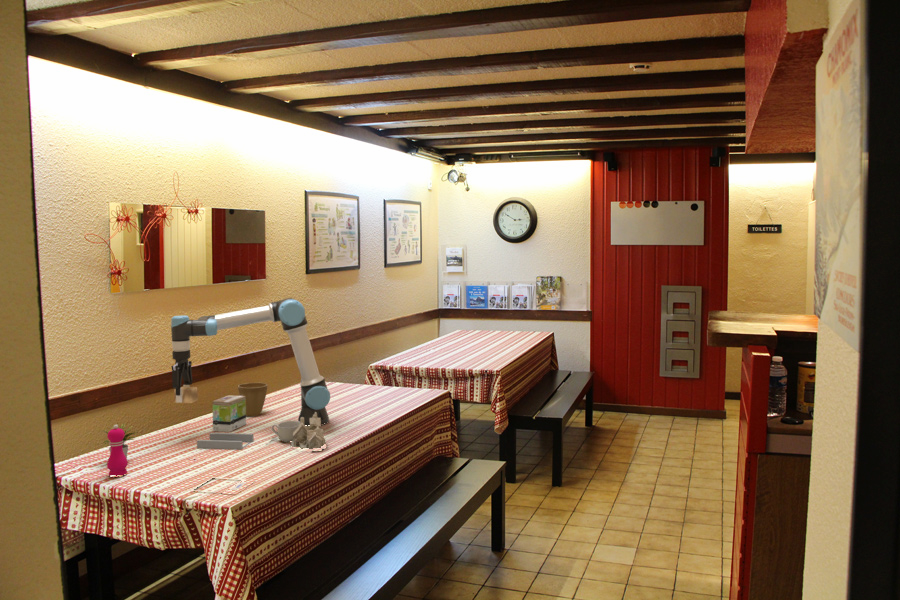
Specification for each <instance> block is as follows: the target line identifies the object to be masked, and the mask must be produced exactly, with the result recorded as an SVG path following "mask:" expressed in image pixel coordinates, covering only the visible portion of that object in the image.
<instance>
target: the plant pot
mask: <svg viewBox="0 0 900 600" xmlns="http://www.w3.org/2000/svg"><path fill="white" fill-rule="evenodd" d="M237 387H238V394H239V395H238V396H246V417H257V416H260V415H261V414H262V411H263V408H264V405H265V403H266V402H265V401H266V396H267V391H268V390H267V389H268V384H267V383H265V382H246V383H245V382H244V383H241V384H238V386H237Z"/></svg>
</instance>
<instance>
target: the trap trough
mask: <svg viewBox="0 0 900 600" xmlns="http://www.w3.org/2000/svg"><path fill="white" fill-rule="evenodd" d="M208 435H209V439H198V440H196V449H202V450H203V449H205V450H208V449H210V450H212V449H213V450H243V449H244V448H246V447H247V446H249V445H250V444H252V443H253V442H254V441H255V440H254V439H255V438H254V433H241V432H240V433H239V432H238V433H236V432H235V433H234V432H233V433H232V432H210V433H209V434H208ZM243 443H244V444H245V445H243ZM246 443H247V444H246Z"/></svg>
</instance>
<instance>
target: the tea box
mask: <svg viewBox="0 0 900 600" xmlns="http://www.w3.org/2000/svg"><path fill="white" fill-rule="evenodd" d="M246 424H247V416H246V396H240V395H235V394H234V395H229V394H228V395H226V396H222V397H220V398H218V399H215V400H213V401H212V431H214V432H223V433H232V432H233V431H234V430H236V429H239V428H241V427H242V426H243V427H244V426H246Z"/></svg>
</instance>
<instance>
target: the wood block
mask: <svg viewBox="0 0 900 600" xmlns="http://www.w3.org/2000/svg"><path fill="white" fill-rule="evenodd" d="M181 388H182V398H183V402H182V403H181V404H192V403H194V402H197V401H199V391H198V387H197V386H190V387H183V386H181ZM173 395H174V404H178V403H177V402H176V389H175V388H174V389H173Z"/></svg>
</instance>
